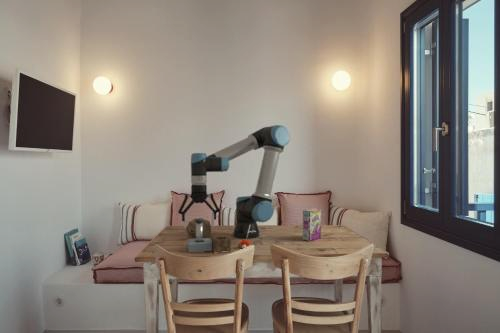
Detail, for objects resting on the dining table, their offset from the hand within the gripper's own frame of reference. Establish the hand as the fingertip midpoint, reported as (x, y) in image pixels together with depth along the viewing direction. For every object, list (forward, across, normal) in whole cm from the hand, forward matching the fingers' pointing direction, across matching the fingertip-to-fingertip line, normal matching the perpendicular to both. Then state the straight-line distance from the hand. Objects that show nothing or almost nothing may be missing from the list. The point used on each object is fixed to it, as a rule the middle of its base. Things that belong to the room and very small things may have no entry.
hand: (199, 227), depth 168 cm
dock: (+11, 0, 0) cm, 11 cm away
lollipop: (+11, +24, -4) cm, 26 cm away
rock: (+11, +3, +34) cm, 36 cm away
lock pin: (+11, 0, 0) cm, 11 cm away
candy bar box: (+11, +62, +4) cm, 64 cm away
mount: (+11, +10, -5) cm, 16 cm away
